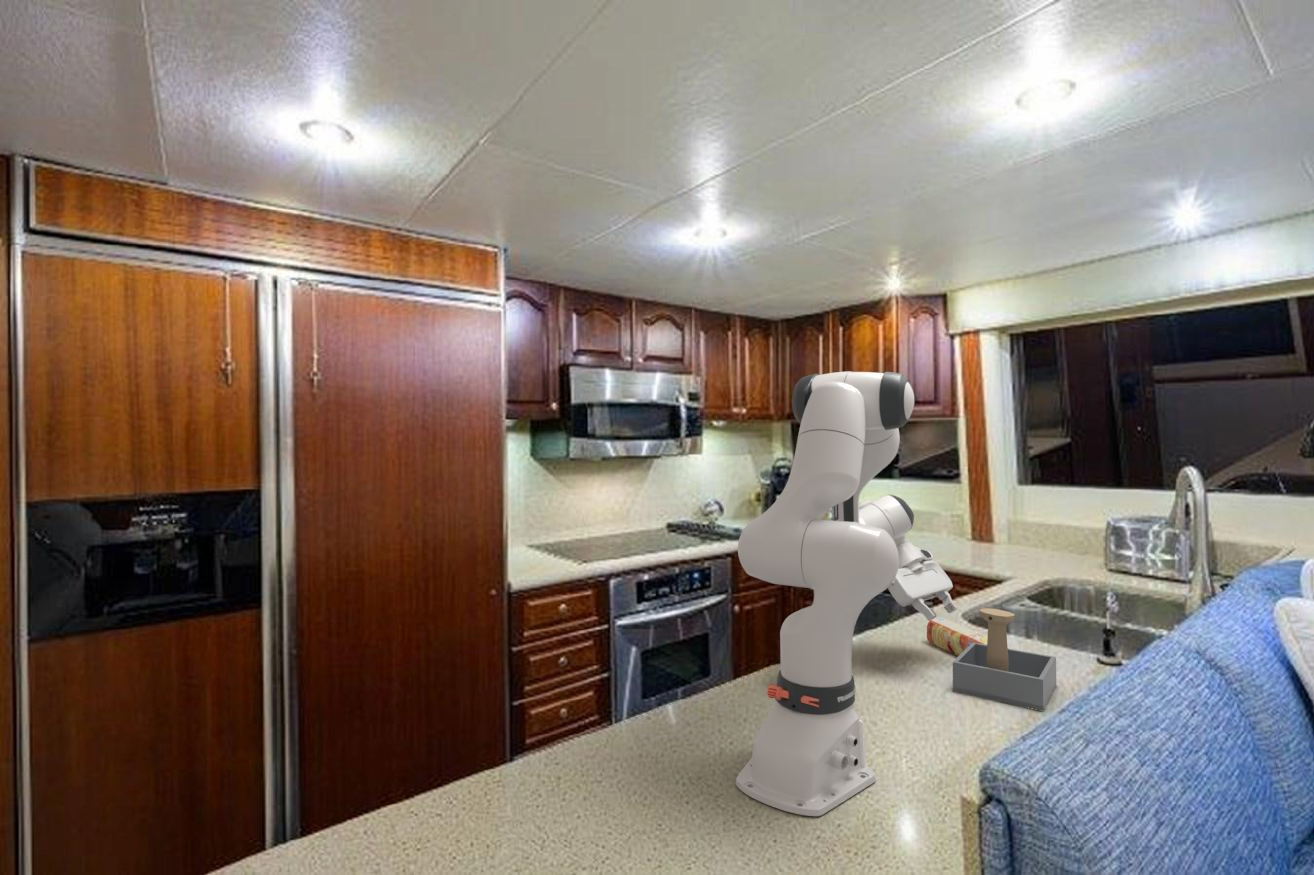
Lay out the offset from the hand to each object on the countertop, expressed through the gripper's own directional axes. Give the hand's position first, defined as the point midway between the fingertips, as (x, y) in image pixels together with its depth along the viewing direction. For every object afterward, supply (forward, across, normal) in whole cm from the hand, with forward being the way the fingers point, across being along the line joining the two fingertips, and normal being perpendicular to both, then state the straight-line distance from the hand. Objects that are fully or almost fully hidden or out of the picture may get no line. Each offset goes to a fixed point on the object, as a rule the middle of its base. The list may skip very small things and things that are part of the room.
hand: (943, 614), depth 142 cm
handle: (+17, -1, 0) cm, 17 cm away
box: (+18, +1, 0) cm, 18 cm away
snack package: (+8, +15, +10) cm, 20 cm away
